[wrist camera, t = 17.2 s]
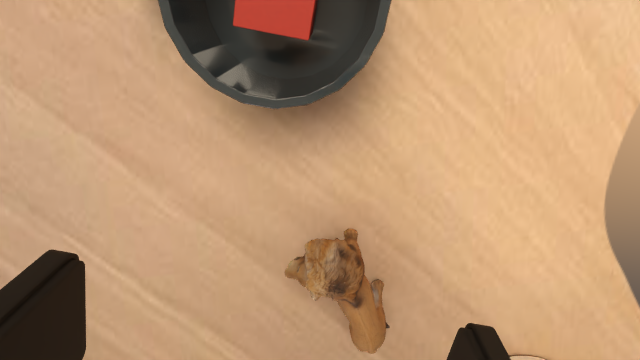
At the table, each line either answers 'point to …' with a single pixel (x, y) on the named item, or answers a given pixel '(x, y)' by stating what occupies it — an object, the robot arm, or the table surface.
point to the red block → (277, 16)
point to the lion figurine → (344, 286)
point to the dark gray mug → (275, 50)
